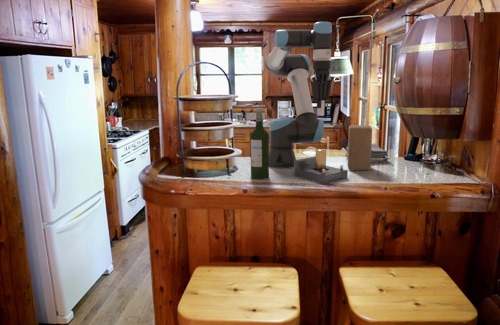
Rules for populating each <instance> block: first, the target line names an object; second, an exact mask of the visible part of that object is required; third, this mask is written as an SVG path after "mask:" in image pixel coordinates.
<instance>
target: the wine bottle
mask: <svg viewBox="0 0 500 325" xmlns="http://www.w3.org/2000/svg"><path fill="white" fill-rule="evenodd" d="M255 112H256V113H255V127H254V129H253V130H251V132H250V135H249V136H250V138H249V139H250V178H252V179H253V180H265V179H266V180H267V179H269V178H270V177H269V176H270V166H269V151H270V133H269V132H268V131H267V130H266V129H265V128H264V122H263V108H262V107H257V108H256V109H255Z"/></svg>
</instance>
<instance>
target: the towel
mask: <svg viewBox="0 0 500 325" xmlns="http://www.w3.org/2000/svg"><path fill="white" fill-rule="evenodd" d="M345 157H346V158H347V159H348V146H347V147H345ZM388 160H389V156H388V151H387V150H385V149H382V148H380V146H379V145H378V144H377V143H372V146H371V164H372V163H387V162H388Z"/></svg>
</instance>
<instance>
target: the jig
mask: <svg viewBox="0 0 500 325" xmlns="http://www.w3.org/2000/svg"><path fill="white" fill-rule="evenodd" d="M315 166H316V155H314V156H310V157H305V158H300V159H296V160H294V166H293V167H294V171H293V176H294V177H298V178H301V179H304V180H305V179H306V180H310V181H311V182H312V181H313V182H315V183H320V184H323V183H326V184H329V183H334V182H338V181H342V180H346V179H348V175H349V174H348V171H349V169H348V170H347V169H344V165H343V164H340V166H339V168H338V167H333V166H328V165H326V170H325V169H322V171H317V170H315Z"/></svg>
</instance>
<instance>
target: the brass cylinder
mask: <svg viewBox="0 0 500 325" xmlns="http://www.w3.org/2000/svg"><path fill="white" fill-rule="evenodd" d="M315 156H316V166H315V170H317V171H322V169H325V170H326V166H327V149H325V148H317V149H315Z"/></svg>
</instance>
